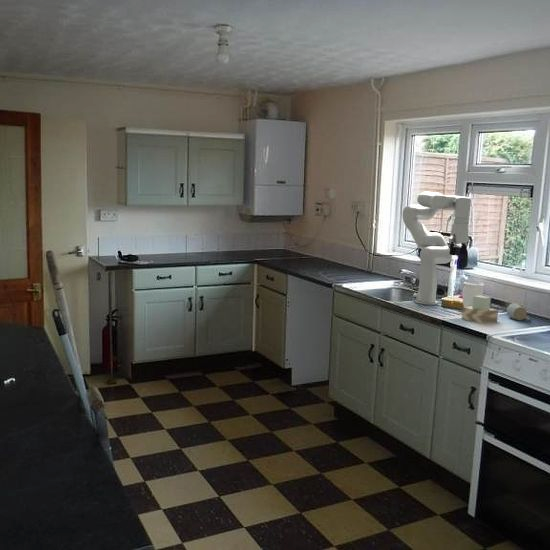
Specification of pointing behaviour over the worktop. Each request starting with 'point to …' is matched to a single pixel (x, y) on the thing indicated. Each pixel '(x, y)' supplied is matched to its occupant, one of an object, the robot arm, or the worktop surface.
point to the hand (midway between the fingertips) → (457, 254)
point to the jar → (471, 292)
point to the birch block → (479, 315)
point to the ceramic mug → (517, 312)
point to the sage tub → (481, 302)
